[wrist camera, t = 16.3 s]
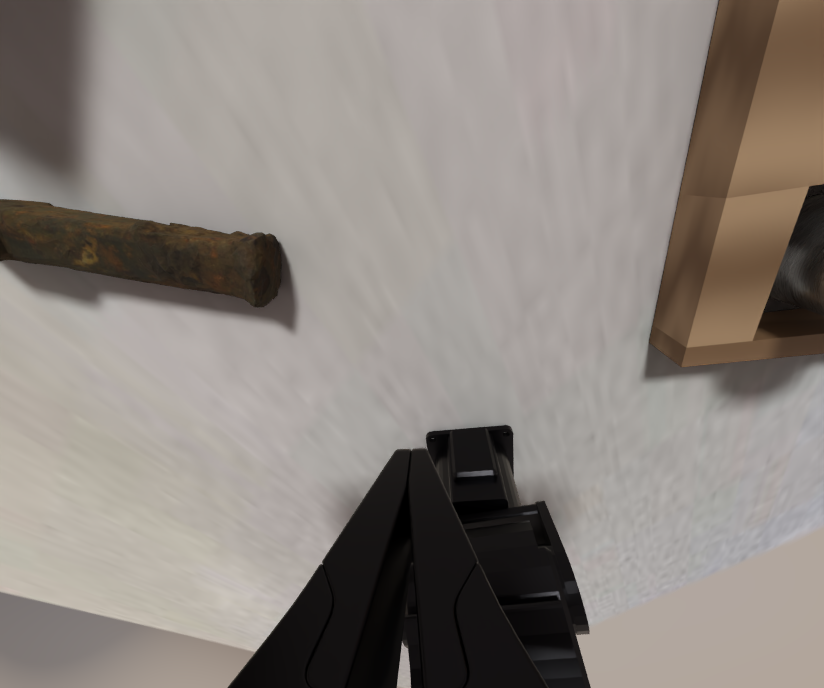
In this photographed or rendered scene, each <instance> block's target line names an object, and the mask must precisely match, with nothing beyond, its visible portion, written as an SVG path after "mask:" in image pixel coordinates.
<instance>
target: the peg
mask: <svg viewBox="0 0 824 688" xmlns="http://www.w3.org/2000/svg"><path fill="white" fill-rule="evenodd" d="M769 296H770V297H772V298H775V299H778V300H781V301H784V302H786V303H789V304H792V305H795V306H797V307H800V308H803V309H806V310H808V311H811V312H814V313H817V314H820V315H822V316H824V194H820V195H815V196H811V197H808V198H805V200H804V202H803V205H802V208H801V210H800V213H799V216H798V219H797V221H796V224H795V227H794V229H793V232H792V235H791V238H790V240H789V243H788V246H787V248H786V251H785V254H784V257H783V259H782V262H781V265H780V267H779V270H778V273H777V276H776V278H775V281H774V284H773V286H772V289H771V292H770V295H769Z"/></svg>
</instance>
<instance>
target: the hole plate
mask: <svg viewBox="0 0 824 688" xmlns="http://www.w3.org/2000/svg"><path fill="white" fill-rule="evenodd" d="M820 184H824V0H719V5H718V10H717V15H716V20H715V24H714V29H713V34H712V39H711V44H710V49H709V54H708V59H707V63H706V68H705V73H704V78H703V83H702V88H701V93H700V98H699V102H698V107H697V112H696V117H695V122H694V127H693V132H692V136H691V141H690V146H689V151H688V156H687V161H686V166H685V171H684V175H683V180H682V185H681V190H680V195H679V200H678V205H677V209H676V214H675V219H674V224H673V229H672V234H671V239H670V244H669V248H668V253H667V258H666V263H665V268H664V273H663V278H662V283H661V287H660V292H659V297H658V302H657V307H656V312H655V317H654V321H653V326H652V331H651V336H650V341H649V343H650V344H652V345H653V346H654V347H656V348H657V349H658V350H660V351H661V352H662V353H663V354H665V355H666V356H667V357H669V358H670V359H671V360H673V361H674V362H675V363H676V364H678V365H679V366H680V367H688V366H699V365H709V364H719V363H730V362H740V361H750V360H761V359H771V358H781V357H791V356H802V355H812V354H822V353H824V316H822V315H820V314H817V313H814V312H811V311H808V310H806V309H803V308H800V309H791V310H782V311H773V312H764V313H763V311H764V308H765V305H766V303H767V300H768V297H769V295H770V292H771V289H772V286H773V284H774V281H775V278H776V276H777V273H778V270H779V267H780V265H781V262H782V259H783V257H784V254H785V251H786V248H787V246H788V243H789V240H790V238H791V235H792V232H793V229H794V227H795V224H796V221H797V219H798V216H799V213H800V210H801V208H802V205H803V202H804V200H805V197H806V194H807V191H808V189H809V186H814V185H820Z"/></svg>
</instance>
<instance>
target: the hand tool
mask: <svg viewBox="0 0 824 688" xmlns="http://www.w3.org/2000/svg"><path fill="white" fill-rule="evenodd" d="M3 260H17V261H23V262H26V263H35V264H44V265H52V266H59V267H67V268H71V269H74V270H78V271H85V272H91V273H97V274H102V275H107V276H113V277H118V278H124V279H130V280H136V281H141V282H147V283H155V284H160V285H166V286H173V287H179V288H183V289H190V290H198V291H206V292H212V293H218V294H225V295H230V296H235V297H239V298H242V299H245V300H246V301H247V302H249V303H250V304H251V305H252V306H253V307H264V306H266V305H267V304H268V303H269V302H270V301H271V300H272V299H274V298H275V297H276V296H277V293H278V289H279V286H280V283H281V279H280V273H281V254H280V249H279V244H278V241H277V239H276V237H275V236H274V235H272V234H267V235H265V234H263V233H254V234H252V235H249V234H245V233H242V232H239V231H236V232H234V233H232V234H226V233H222V232H218V231H212V230H207V229H204V228H201V227H190V226H187V225H182V224H175V223H170V225H166V224H161V223H157V222H153V221H148V220H139V219H132V218H125V217H118V216H111V215H104V214H97V213H92V212H87V211H80V210H72V209H66V208H61V207H54V206H52V205H51V204H50V203H44V202H34V201H22V200H6V199H0V261H3Z"/></svg>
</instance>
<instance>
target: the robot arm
mask: <svg viewBox="0 0 824 688" xmlns="http://www.w3.org/2000/svg"><path fill="white" fill-rule="evenodd" d="M504 432H507V433H504ZM431 438H434V439H431ZM426 442H427V448H428V450H427V449H425V448H420V449H413V450H412V451H411V450H410V449H398V450H396V451H395V452H394V454H393V455H392V457H391V458H390V460H389V461H388V463H387V464H386V466H385V467H384V469H383V470H382V472H381V473H380V475H379V476H378V478H377V479H376V481H375V482H374V484H373V485H372V487H371V488H370V490H369V491H368V493H367V494H366V496H365V497H364V499H363V500H362V502H361V503H360V505H359V506H358V508H357V509H356V511H355V513H354V514H353V516H352V517H351V519H350V520H349V522H348V523H347V525H346V526H345V528H344V529H343V531H342V532H341V534H340V535H339V537H338V538H337V540H336V541H335V543H334V544H333V546H332V547H331V549H330V550H329V552H328V553H327V555H326V556H325V558H324V559H323V561H322V563H323V565H322V564H320V565H319V567H318V568H317V570H316V571H315V573H314V574H313V576H312V577H311V579H310V580H309V582H308V583H307V585H306V586H305V588H304V589H303V591H302V592H301V593H300V595H299V596H298V598H297V599H296V601H295V602H294V603H293V605H292V606H291V608H290V609H289V610H288V611H287V613H286V614H285V615H284V617H283V618H282V619H281V621H280V622H279V623H278V624H277V626H276V627H275V628H274V630H273V631H272V632H271V634H270V635H269V636H268V637H267V639H266V640H265V641H264V642H263V644H262V645H261V646H260V647H259V649H258V650H257V651H256V652H255V654H254V655H253V656H252V658H251V659H250V660H249V661H248V663H247V664H246V665H245V666H244V668H243V669H242V670H241V671H240V673H239V674H238V675H237V676H236V678H235V679H234V680H233V681H232V683H231V684H230V685H229V686H228V688H396V687H397V679H398V671H399V662H400V654H401V645H402V642H403V644H404V646H405V647H407V648H408V651H409V661H410V674H411V688H591V687H590V684H589V680H588V677H587V673H586V670H585V666H584V663H583V659H582V656H581V652H580V648H579V645H578V641H577V638H576V634H577V635H581V634H589V626H588V621H587V617H586V613H585V609H584V606H583V602H582V599H581V595H580V592H579V589H578V586H577V582H576V579H575V576H574V573H573V570H572V568H571V565H570V562H569V559H568V557H567V554H566V552H565V549H564V547H563V544H562V542H561V540H560V537H559V535H558V532H557V530H556V528H555V525H554V523H553V520H552V518H551V516H550V513H549V511H548V508H547V506H546V504H545V501H540V502H536V504H531V505H524V506H521V503H520V499H519V496H518V492H517V488H516V485H515V481H514V470H513V432H512V429H511V427H510V426H507V425H503V426H491V427H479V428H467V429H455V430H443V431H432V432H429V433H427V435H426Z"/></svg>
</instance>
